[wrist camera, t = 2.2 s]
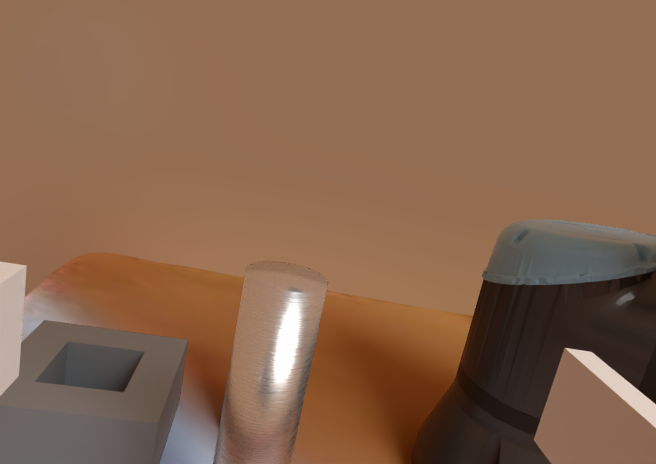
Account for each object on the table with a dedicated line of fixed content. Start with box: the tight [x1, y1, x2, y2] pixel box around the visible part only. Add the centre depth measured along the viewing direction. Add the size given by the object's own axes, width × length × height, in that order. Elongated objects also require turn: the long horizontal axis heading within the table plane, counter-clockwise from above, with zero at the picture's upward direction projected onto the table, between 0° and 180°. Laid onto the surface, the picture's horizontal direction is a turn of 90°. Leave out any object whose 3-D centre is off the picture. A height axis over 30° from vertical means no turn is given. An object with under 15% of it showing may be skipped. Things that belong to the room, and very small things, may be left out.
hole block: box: [0, 320, 188, 464], centre depth 40 cm, size 12×12×6 cm
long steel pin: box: [213, 261, 328, 464], centre depth 28 cm, size 4×4×20 cm
